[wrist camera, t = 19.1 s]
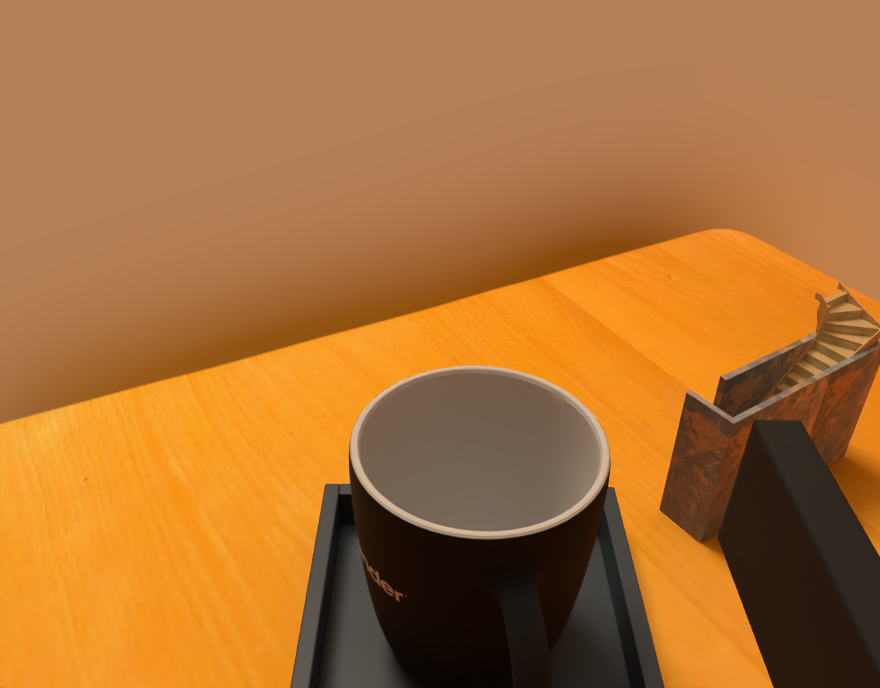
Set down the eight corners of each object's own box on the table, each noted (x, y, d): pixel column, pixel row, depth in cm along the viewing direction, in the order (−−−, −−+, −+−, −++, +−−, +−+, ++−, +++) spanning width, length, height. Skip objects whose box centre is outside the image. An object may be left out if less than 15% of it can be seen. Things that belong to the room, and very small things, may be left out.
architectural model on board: (793, 430, 46) (843, 280, 40) (841, 461, 43) (901, 307, 38) (651, 510, 40) (687, 349, 35) (698, 549, 38) (744, 384, 33)
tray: (272, 875, 26) (264, 837, 24) (328, 521, 39) (325, 483, 37) (688, 879, 26) (703, 841, 25) (607, 524, 39) (614, 486, 37)
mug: (347, 560, 36) (334, 377, 30) (539, 531, 38) (561, 352, 32) (390, 842, 26) (382, 650, 21) (646, 786, 28) (704, 594, 22)
